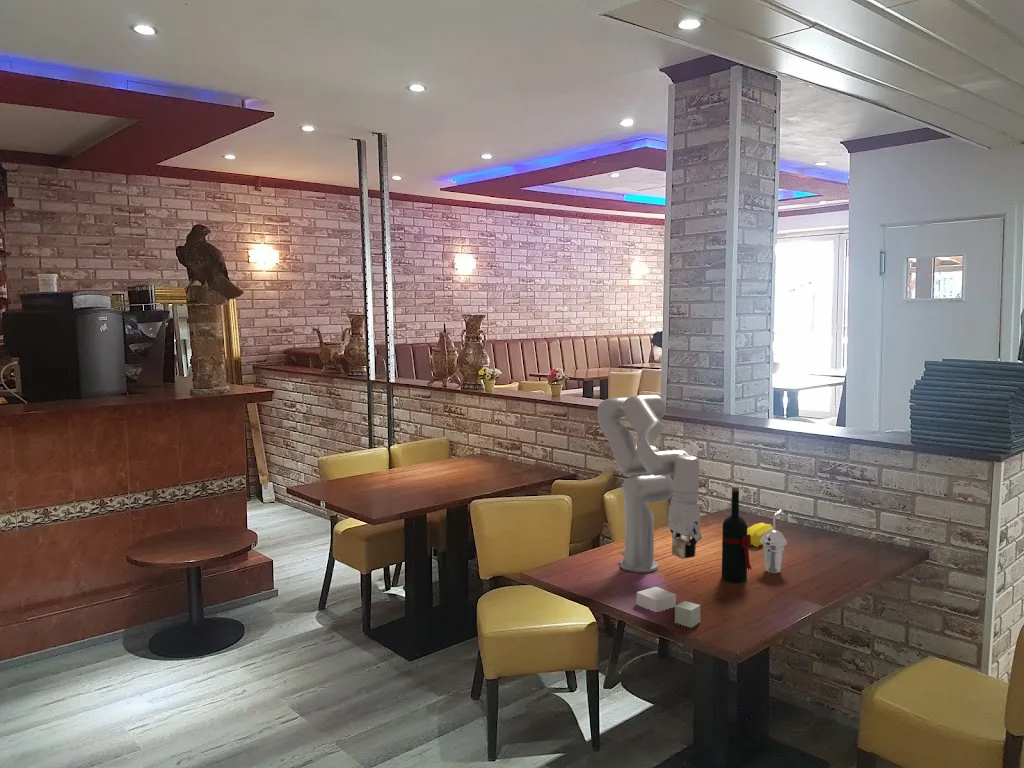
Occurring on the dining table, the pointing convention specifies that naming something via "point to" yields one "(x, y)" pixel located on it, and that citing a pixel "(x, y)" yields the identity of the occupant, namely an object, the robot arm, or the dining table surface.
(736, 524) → the wine bottle
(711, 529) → the dining table surface
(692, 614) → the sage cube
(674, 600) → the base block
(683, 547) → the maple cube
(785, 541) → the cup with straw
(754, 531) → the yellow rounded lump
